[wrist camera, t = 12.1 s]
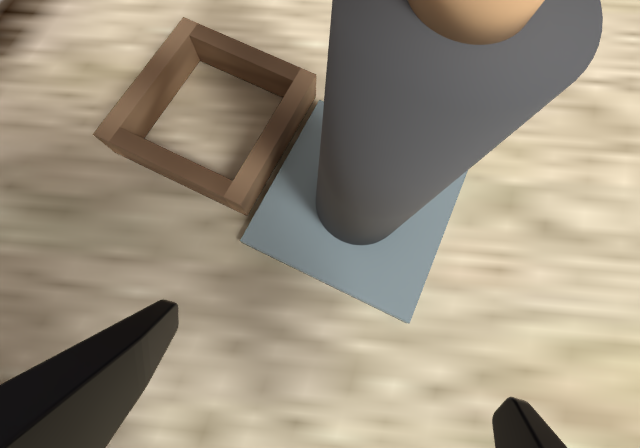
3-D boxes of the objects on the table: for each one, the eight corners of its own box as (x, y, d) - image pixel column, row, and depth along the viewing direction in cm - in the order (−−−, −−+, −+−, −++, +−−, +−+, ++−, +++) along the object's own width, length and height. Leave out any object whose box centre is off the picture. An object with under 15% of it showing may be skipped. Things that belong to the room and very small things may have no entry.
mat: (405, 322, 17) (409, 323, 16) (242, 242, 18) (239, 240, 17) (464, 170, 19) (469, 165, 19) (319, 105, 20) (319, 99, 20)
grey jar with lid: (365, 264, 17) (557, 134, 4) (297, 205, 18) (271, -73, 5) (420, 199, 18) (715, -72, 5) (353, 145, 19) (462, -217, 6)
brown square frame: (247, 216, 18) (240, 205, 16) (114, 152, 19) (92, 134, 17) (315, 96, 20) (316, 74, 18) (194, 43, 21) (183, 17, 19)
